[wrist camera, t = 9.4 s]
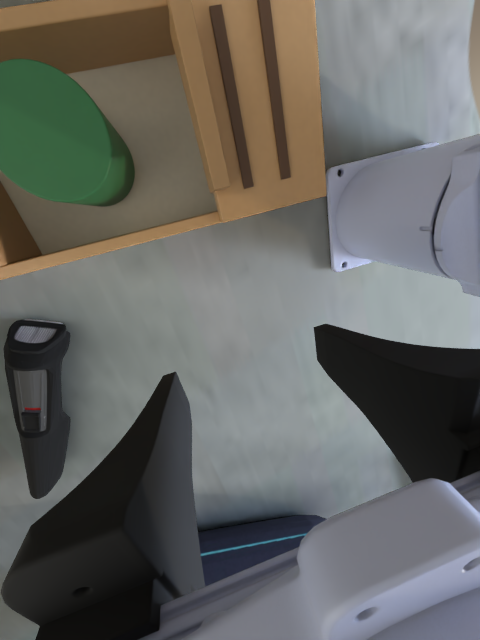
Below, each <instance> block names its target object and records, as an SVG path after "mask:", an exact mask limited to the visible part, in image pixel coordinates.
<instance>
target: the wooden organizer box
mask: <svg viewBox="0 0 480 640" xmlns="http://www.w3.org/2000/svg"><path fill="white" fill-rule="evenodd" d="M10 59H31V60H35V61H40V62H43V63H46V64H48V65H51V66H53V67H55V68H57V69H59V70H61V71H62V72H64V73H65V74H67V75H68V76H70V77H71V78H72V79H73V80H75V81H76V82H77V83H78V84H79V85H80V86H81V87H82V88H83V89H84V90H85V91H86V92H87V93H88V94H89V96H90V97H91V98H92V99H93V101H94V102H95V103H96V105H97V106H98V107H99V108H100V110H101V111H102V112H103V114H104V115H105V116H106V118H107V119H108V120H109V122H110V123H111V124H112V126H113V127H114V128H115V130H116V131H117V132H118V134H119V135H120V136H121V138H122V139H123V140H124V142H125V143H126V145H127V147H128V148H129V150H130V153H131V155H132V158H133V162H134V168H135V177H134V183H133V186H132V189H131V190H130V192H129V194H128V195H127V196H126V197H125V198H124V199H123V200H122V201H120V202H119V203H117V204H115V205H111V206H106V207H99V206H90V205H81V204H72V203H63V202H55V201H50V200H46V199H43V198H40V197H37V196H35V195H33V194H31V193H29V192H27V191H25V190H24V189H22V188H20V187H19V186H18V185H16V184H15V183H14V182H12V181H11V180H10V179H9V178H8V177H7V176H6V175H5V174H4V173H3V172H2V171H1V170H0V280H2V279H6V278H10V277H14V276H18V275H21V274H25V273H29V272H33V271H37V270H41V269H44V268H48V267H52V266H56V265H60V264H64V263H68V262H71V261H75V260H79V259H83V258H87V257H91V256H94V255H98V254H102V253H106V252H110V251H114V250H117V249H121V248H125V247H129V246H133V245H137V244H141V243H144V242H148V241H152V240H156V239H160V238H164V237H167V236H171V235H175V234H179V233H183V232H187V231H191V230H194V229H198V228H202V227H206V226H210V225H214V224H217V223H221V222H223V223H225V222H229V221H233V220H236V219H240V218H244V217H248V216H252V215H256V214H259V213H263V212H267V211H271V210H275V209H279V208H282V207H286V206H290V205H294V204H298V203H302V202H305V201H309V200H313V199H317V198H321V197H325V196H326V195H327V188H326V172H325V156H324V141H323V125H322V109H321V93H320V77H319V61H318V45H317V29H316V13H315V0H53V1H46V2H39V3H32V4H26V5H19V6H12V7H5V8H0V63H1V62H3V61H7V60H10Z"/></svg>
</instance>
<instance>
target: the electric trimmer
mask: <svg viewBox="0 0 480 640" xmlns="http://www.w3.org/2000/svg"><path fill="white" fill-rule="evenodd" d="M69 342H70V333H69V332H68V331H66V326H65V325H64V323H63V324H62V323H61V322H57V321H56V322H52V321H45V322H44V320H42V321H41V320H33V319H31V320H30V319H26V320H19V321H16V322H14V323H13V324H12V325H11V326H10V328H9V331H8V334H7V339H6V342H5V346H4V359H5V371H6V376H7V382H8V387H9V392H10V397H11V403H12V408H13V413H14V418H15V422H16V426H17V429H18V432H19V436H20V441H21V446H22V452H23V457H24V462H25V468H26V473H27V479H28V485H29V490H30V494H31V496H32V497H33V498H35V499H40V498H42V497H44V496H46V495H47V494H48V493H49V492H50V491H51V489H52V488H53V487H54V485H55V484H56V483H57V481H58V480H59V479H60V477H61V475H62V472H63V468H64V462H65V456H66V449H67V443H68V436H69V428H70V417H69V416H67V415H66V414H65V413H64V412H63V410H62V397H61V364H62V359H63V357H64V355H65V353H66V351H67V349H68V346H69Z"/></svg>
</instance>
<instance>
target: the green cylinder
mask: <svg viewBox="0 0 480 640" xmlns="http://www.w3.org/2000/svg"><path fill="white" fill-rule="evenodd" d="M0 170H1V171H2V172H3V173H4V174H5V175H6V176H7V177H8V178H9V179H10V180H11V181H12V182H14V183H15V184H16V185H18V186H19V187H20V188H22V189H24V190H25V191H27V192H29V193H31V194H33V195H35V196H37V197H40V198H43V199H46V200H50V201H55V202H63V203H72V204H81V205H90V206H99V207H106V206H111V205H115V204H117V203H119V202H120V201H122V200H123V199H124V198H125V197H126V196H127V195H128V194H129V192H130V190H131V189H132V186H133V183H134V177H135V168H134V162H133V158H132V155H131V153H130V150H129V148H128V147H127V145H126V143H125V142H124V140H123V139H122V138H121V136H120V135H119V134H118V132H117V131H116V130H115V128H114V127H113V126H112V124H111V123H110V122H109V120H108V119H107V118H106V116H105V115H104V114H103V112H102V111H101V110H100V108H99V107H98V106H97V105H96V103H95V102H94V101H93V99H92V98H91V97H90V96H89V94H88V93H87V92H86V91H85V90H84V89H83V88H82V87H81V86H80V85H79V84H78V83H77V82H76V81H75V80H73V79H72V78H71V77H70V76H68V75H67V74H65V73H64V72H62V71H61V70H59V69H57V68H55V67H53V66H51V65H48V64H46V63H43V62H40V61H35V60H31V59H10V60H7V61H3V62H1V63H0Z"/></svg>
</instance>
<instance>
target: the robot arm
mask: <svg viewBox="0 0 480 640" xmlns="http://www.w3.org/2000/svg"><path fill="white" fill-rule="evenodd" d="M338 170H340V172H341V174H340V176H338V174H337V172H338ZM326 188H327V205H328V221H329V237H330V252H331V267H332V270H333V271H335V272H340V271H343V270H347V269H350V268H353V267H357V266H360V265H364V264H367V263H370V262H374V261H377V262H381V263H385V264H389V265H394V266H398V267H402V268H407V269H411V270H415V271H420V272H424V273H428V274H432V275H437V276H441V277H445V278H450V279H454V280H457V281H458V282H459V283H460V284H461V286H462V289H463V292H464V293H467V294H471V295H474V296H478V297H480V134H477V135H474V136H470V137H466V138H463V139H459V140H455V141H452V142H448V143H445V144H441V145H439V144H438V142H431V143H427V144H423V145H419V146H415V147H411V148H407V149H403V150H399V151H395V152H391V153H387V154H383V155H379V156H375V157H371V158H366V159H362V160H358V161H354V162H350V163H346V164H342V165H338V166H334V167H331V168H329V169H328V170H327V172H326ZM343 262H344V265H343V266H341V265H342V263H343ZM314 333H315V342H316V352H317V360H318V362H319V363H320V365H321V366H322V367H323V369H324V370H325V372H326V373H327V374H328V376H329V377H330V378H331V379H332V380H333V381H334V382H335V383H336V384H337V385H338V386H339V387H340V389H341V390H342V391H343V392H344V393H345V394H346V395H347V396H348V397H349V398H350V399H351V400H352V401H353V402H354V403H355V404H356V405H357V407H358V408H359V409H360V410H361V411H362V412H363V413H364V415H365V416H366V417H367V419H368V420H369V421H370V422H371V424H372V425H373V426H374V428H375V429H376V430H377V432H378V433H379V434H380V436H381V437H382V438H383V440H384V441H385V443H386V444H387V445H388V447H389V448H390V449H391V451H392V452H393V454H394V455H395V457H396V458H397V459H398V461H399V462H400V464H401V465H402V467H403V468H404V470H405V471H406V473H407V474H408V476H409V477H410V479H411V480H412V482H413V483H412V484H409V485H407V486H404V487H402V488H399V489H397V490H395V491H392V492H390V493H387V494H385V495H383V496H380V497H378V498H375V499H373V500H371V501H368V502H366V503H363V504H361V505H358V506H356V507H354V508H351V509H349V510H346V511H344V512H342V513H339V514H337V515H334V516H332V517H330V518H328V519H326V520H325V521H323V522H321V523H320V524H318V525H316V526H314V527H313V528H312V529H311V530H310V531H309V532H308V533H307V534H306V536H305V537H304V538H303V539H302V540H301V543H300V546H299V547H298V548H295V549H293V550H291V551H288V552H286V553H284V554H281V555H279V556H276V557H274V558H272V559H269V560H267V561H265V562H262V563H260V564H258V565H255V566H253V567H250V568H248V569H246V570H243V571H241V572H239V573H236V574H234V575H231V576H229V577H227V578H224V579H222V580H220V581H217V582H215V583H213V584H210V585H208V586H205V582H204V575H203V568H202V561H201V553H200V545H199V537H198V529H197V521H196V512H195V503H194V493H193V482H192V421H191V413H190V405H189V401H188V399H187V397H186V394H185V392H184V390H183V387H182V385H181V383H180V380H179V378H178V375H177V373H176V372H173V373H170V374H167V375H164V376H163V377H162V379H161V381H160V382H159V384H158V386H157V387H156V389H155V391H154V393H153V394H152V396H151V398H150V399H149V401H148V403H147V404H146V406H145V408H144V409H143V411H142V412H141V413H140V415H139V416H138V418H137V419H136V421H135V422H134V424H133V425H132V427H131V428H130V429H129V431H128V432H127V433H126V434H125V436H124V437H123V438H122V439H121V441H120V442H119V443H118V444H117V445H116V447H115V448H114V449H113V450H112V451H111V452H110V453H109V454H108V455H107V456H106V458H105V459H104V460H103V461H102V462H101V463H100V464H99V465H98V466H97V467H96V468H95V469H94V470H93V471H92V472H91V473H90V474H89V475H88V476H87V477H86V478H85V479H84V480H83V481H82V482H81V483H80V484H79V485H78V486H77V487H76V488H75V489H74V490H72V491H71V492H70V493H69V494H68V495H67V496H66V497H65V498H64V499H62V500H61V501H60V502H59V503H58V504H56V505H55V506H54V507H53V508H52V509H51V510H49V511H48V512H47V513H46V514H45V515H43V516H42V517H41V518H40V519H39V520H38V521H36V522H35V523H34V524H33V525H31V527H30V529H29V531H28V533H27V535H26V537H25V539H24V541H23V543H22V545H21V547H20V549H19V551H18V553H17V556H16V558H15V560H14V562H13V564H12V566H11V568H10V570H9V572H8V574H7V576H6V578H5V580H4V582H3V585H2V589H1V594H2V597H3V600H4V602H5V604H7V605H8V606H9V607H10V608H11V609H12V610H14V611H16V612H17V613H19V614H21V615H22V616H24V617H26V618H27V619H29V620H31V621H33V622H34V623H36V624H38V625H39V626H40V628H39V631H38V634H37V637H36V640H480V349H458V348H441V347H430V346H421V345H413V344H406V343H400V342H394V341H389V340H385V339H380V338H376V337H372V336H368V335H364V334H360V333H357V332H353V331H350V330H346V329H343V328H340V327H336V326H332V325H328V324H323V325H320V326H317V327H314Z"/></svg>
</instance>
